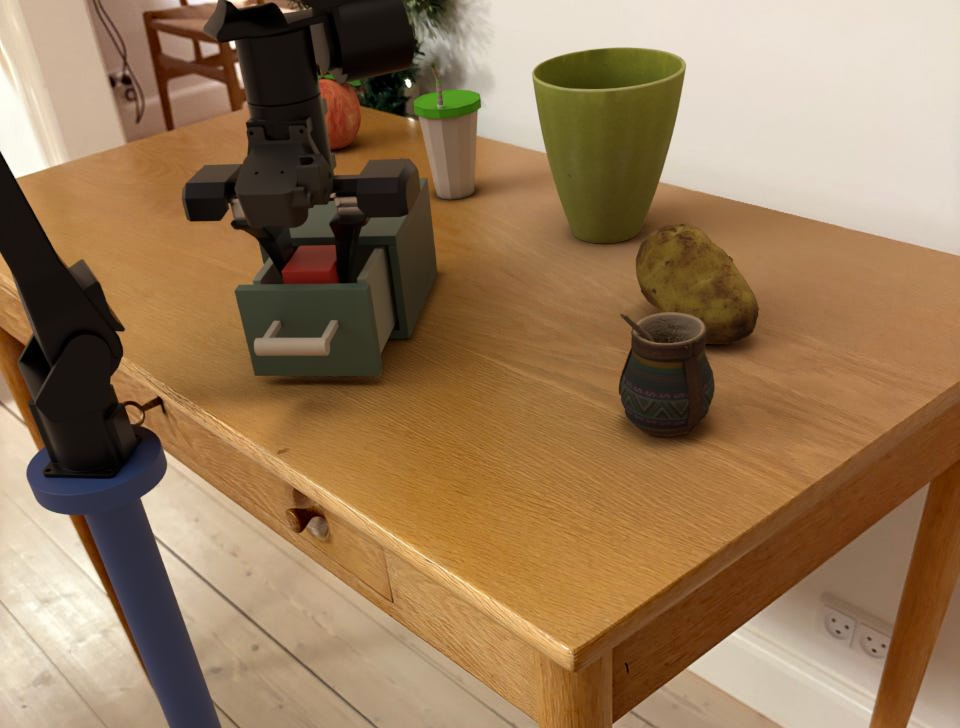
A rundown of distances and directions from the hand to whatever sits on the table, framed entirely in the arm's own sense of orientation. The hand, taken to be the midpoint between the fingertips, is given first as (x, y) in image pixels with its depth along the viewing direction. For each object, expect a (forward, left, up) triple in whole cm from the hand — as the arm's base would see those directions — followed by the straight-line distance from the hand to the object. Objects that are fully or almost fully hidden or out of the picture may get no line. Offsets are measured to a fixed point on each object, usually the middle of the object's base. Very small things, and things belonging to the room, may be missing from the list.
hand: (320, 291), depth 91 cm
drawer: (0, -1, -6) cm, 6 cm away
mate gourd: (+30, -11, -7) cm, 33 cm away
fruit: (-16, +61, -7) cm, 64 cm away
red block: (0, 0, -1) cm, 1 cm away
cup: (+4, +42, -7) cm, 43 cm away
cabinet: (0, +11, -6) cm, 13 cm away
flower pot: (+23, +29, -7) cm, 38 cm away
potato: (+32, +6, -7) cm, 33 cm away
